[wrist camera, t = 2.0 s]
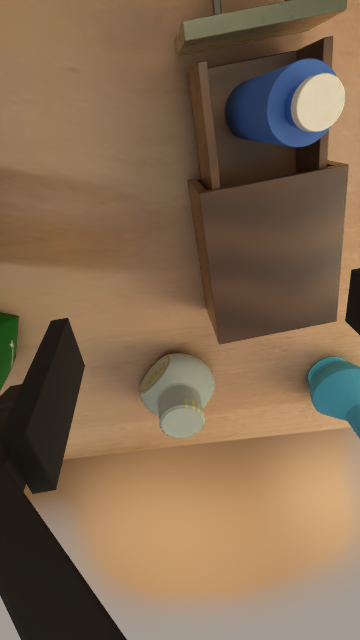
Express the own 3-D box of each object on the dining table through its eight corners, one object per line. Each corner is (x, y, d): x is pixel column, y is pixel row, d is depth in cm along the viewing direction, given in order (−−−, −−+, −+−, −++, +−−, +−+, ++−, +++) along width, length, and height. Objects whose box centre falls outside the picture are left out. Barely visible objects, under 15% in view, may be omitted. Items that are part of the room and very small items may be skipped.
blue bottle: (222, 85, 33) (279, 60, 19) (273, 75, 33) (366, 43, 19) (227, 143, 35) (280, 156, 22) (275, 134, 35) (357, 141, 22)
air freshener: (177, 335, 49) (185, 381, 40) (219, 363, 52) (235, 411, 43) (131, 384, 52) (130, 436, 44) (173, 407, 56) (179, 459, 47)
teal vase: (366, 369, 56) (435, 444, 43) (321, 403, 59) (373, 483, 46) (335, 339, 52) (400, 411, 39) (288, 377, 55) (334, 456, 42)
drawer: (165, -24, 29) (172, -61, 23) (309, -52, 29) (353, -97, 23) (198, 211, 39) (208, 226, 33) (305, 189, 39) (334, 201, 34)
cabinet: (187, 179, 39) (199, 193, 31) (307, 156, 39) (348, 164, 31) (206, 308, 47) (219, 344, 39) (304, 289, 47) (336, 321, 39)
